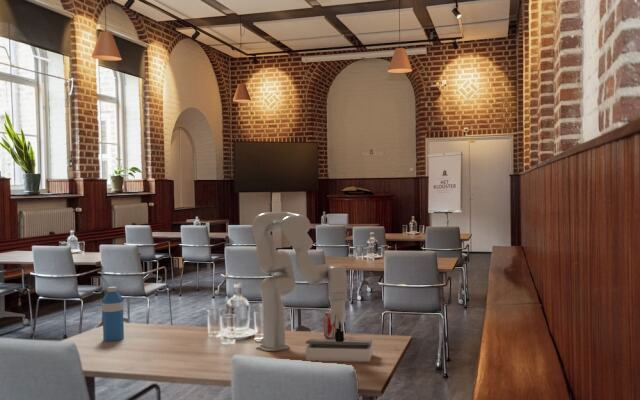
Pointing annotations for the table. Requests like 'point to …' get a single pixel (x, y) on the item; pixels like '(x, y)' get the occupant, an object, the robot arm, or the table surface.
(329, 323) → the soda can
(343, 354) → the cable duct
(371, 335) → the table surface
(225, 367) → the table surface
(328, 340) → the lid
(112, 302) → the water bottle
